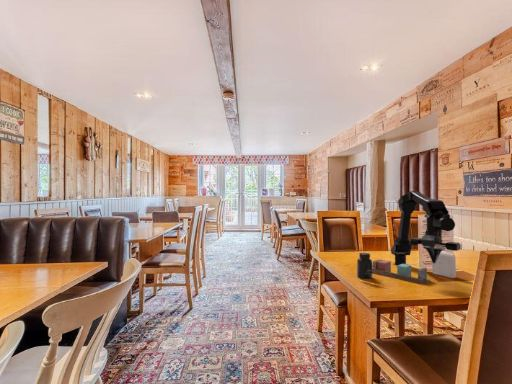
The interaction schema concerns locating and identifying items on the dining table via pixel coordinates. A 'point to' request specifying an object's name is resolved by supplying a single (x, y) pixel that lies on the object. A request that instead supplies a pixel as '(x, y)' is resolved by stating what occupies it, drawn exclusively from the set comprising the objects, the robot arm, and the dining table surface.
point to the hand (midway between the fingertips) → (434, 263)
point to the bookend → (423, 274)
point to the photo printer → (445, 265)
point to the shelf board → (394, 274)
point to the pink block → (384, 265)
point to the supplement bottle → (364, 266)
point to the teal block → (404, 269)
